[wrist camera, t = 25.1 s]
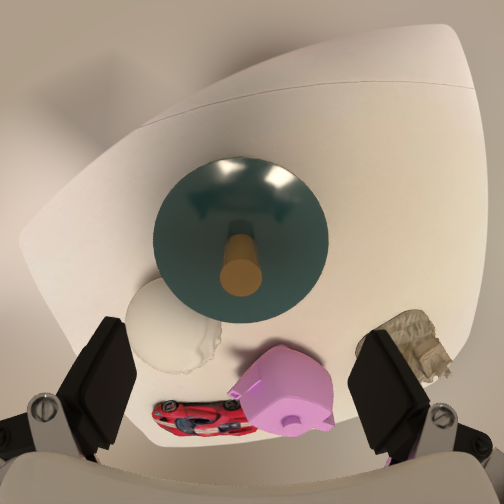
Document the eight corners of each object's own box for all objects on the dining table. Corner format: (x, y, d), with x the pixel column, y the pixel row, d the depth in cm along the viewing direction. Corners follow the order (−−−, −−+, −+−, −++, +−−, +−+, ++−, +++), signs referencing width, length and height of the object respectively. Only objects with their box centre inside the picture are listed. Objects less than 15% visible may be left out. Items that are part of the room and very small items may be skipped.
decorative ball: (209, 343, 40) (201, 402, 29) (135, 317, 38) (108, 371, 27) (236, 279, 36) (235, 335, 25) (151, 248, 34) (116, 294, 23)
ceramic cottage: (351, 337, 41) (390, 407, 27) (430, 295, 40) (481, 347, 26) (361, 384, 47) (388, 441, 34) (427, 348, 46) (462, 396, 33)
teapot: (345, 365, 44) (367, 419, 32) (298, 403, 47) (309, 456, 35) (255, 316, 39) (261, 382, 27) (210, 365, 42) (203, 427, 30)
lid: (131, 265, 23) (103, 300, 17) (215, 122, 19) (205, 111, 13) (260, 338, 26) (265, 384, 20) (356, 223, 22) (390, 249, 17)
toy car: (147, 398, 46) (142, 417, 41) (255, 394, 45) (257, 415, 41) (163, 423, 49) (160, 441, 45) (261, 420, 49) (262, 439, 44)
